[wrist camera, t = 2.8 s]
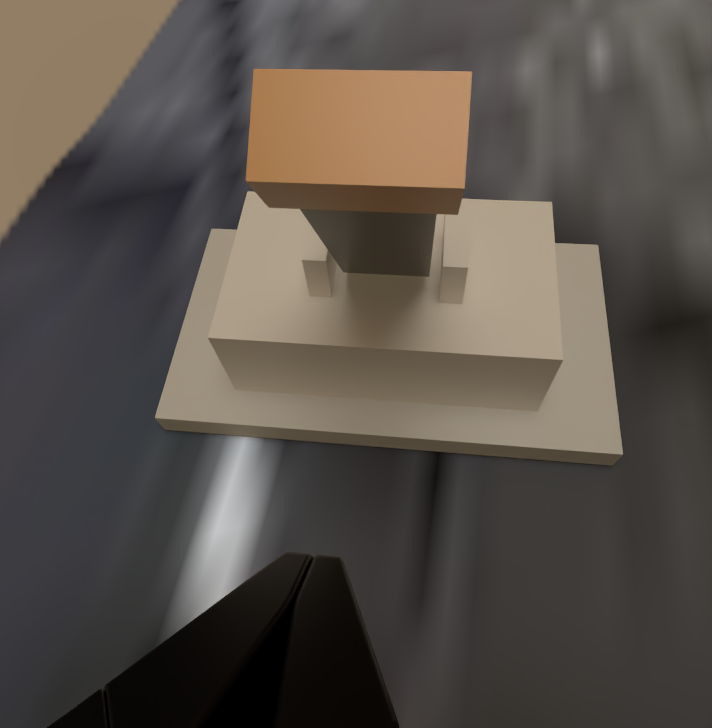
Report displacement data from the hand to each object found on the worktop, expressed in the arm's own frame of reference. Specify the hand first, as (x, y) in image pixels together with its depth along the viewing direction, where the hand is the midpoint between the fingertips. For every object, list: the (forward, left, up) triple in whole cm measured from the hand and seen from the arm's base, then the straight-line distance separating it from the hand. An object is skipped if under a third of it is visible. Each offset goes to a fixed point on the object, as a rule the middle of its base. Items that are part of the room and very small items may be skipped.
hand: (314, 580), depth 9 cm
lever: (+5, +11, -7) cm, 14 cm away
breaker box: (+5, +11, -13) cm, 18 cm away
